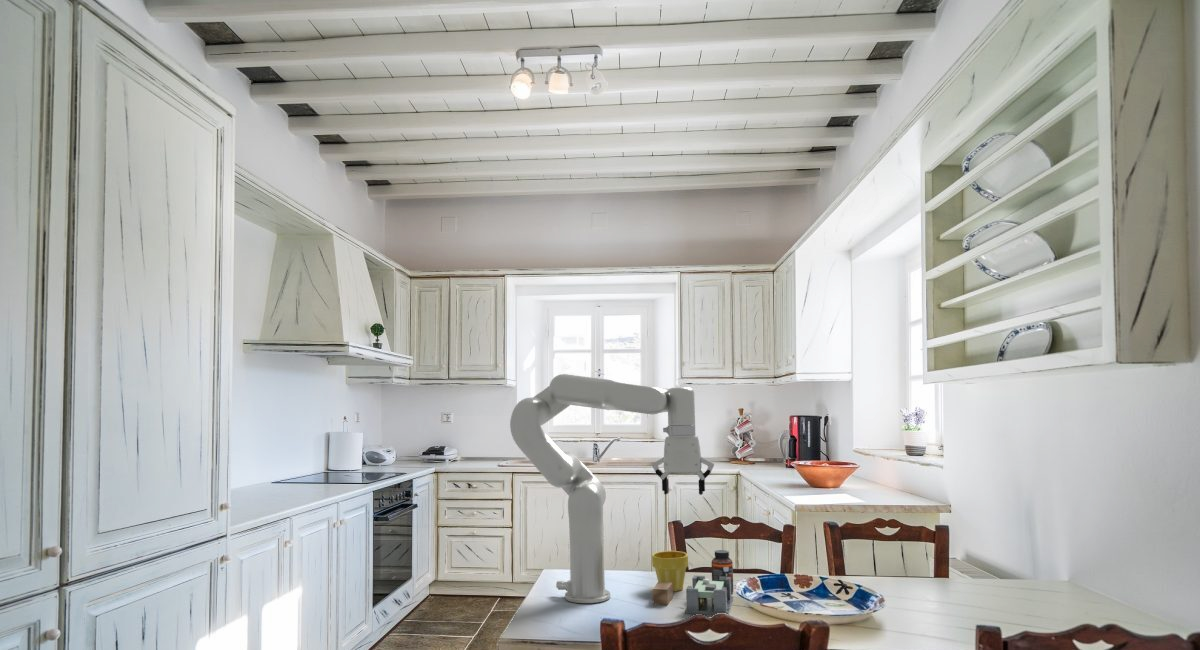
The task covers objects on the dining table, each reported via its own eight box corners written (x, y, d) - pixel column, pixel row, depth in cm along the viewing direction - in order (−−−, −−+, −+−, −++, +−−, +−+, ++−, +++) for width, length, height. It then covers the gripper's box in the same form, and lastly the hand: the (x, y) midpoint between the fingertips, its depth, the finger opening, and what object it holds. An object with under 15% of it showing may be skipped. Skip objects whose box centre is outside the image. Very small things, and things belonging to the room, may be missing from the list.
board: (692, 597, 198) (692, 587, 198) (698, 585, 209) (698, 576, 209) (720, 598, 196) (719, 588, 196) (724, 587, 207) (724, 577, 208)
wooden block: (653, 604, 205) (652, 588, 205) (658, 596, 213) (658, 581, 213) (667, 605, 204) (667, 589, 204) (672, 597, 212) (672, 582, 212)
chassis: (684, 613, 196) (683, 589, 196) (693, 597, 211) (692, 574, 212) (728, 615, 193) (727, 591, 194) (733, 599, 208) (732, 576, 209)
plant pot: (650, 592, 217) (649, 557, 218) (655, 583, 227) (655, 550, 228) (686, 594, 215) (685, 558, 215) (690, 585, 225) (689, 551, 225)
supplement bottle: (733, 595, 213) (731, 553, 214) (711, 594, 214) (710, 553, 215) (733, 589, 218) (732, 549, 219) (712, 589, 220) (711, 548, 221)
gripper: (648, 432, 212) (650, 495, 211) (711, 432, 208) (713, 496, 206) (653, 431, 219) (655, 491, 218) (714, 430, 215) (716, 492, 214)
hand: (683, 493), depth 212 cm, fingers open, 9 cm apart
